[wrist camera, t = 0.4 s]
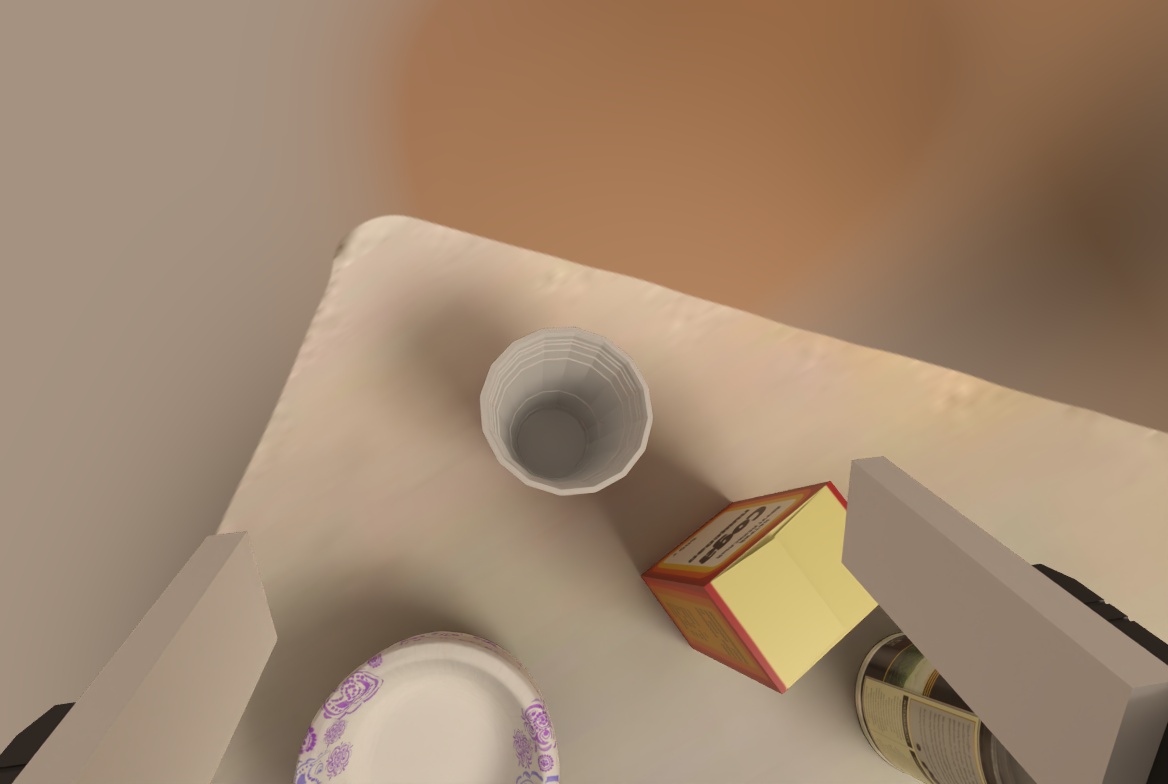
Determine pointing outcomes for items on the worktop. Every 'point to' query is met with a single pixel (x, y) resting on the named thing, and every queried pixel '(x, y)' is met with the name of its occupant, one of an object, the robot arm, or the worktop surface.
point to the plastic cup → (566, 411)
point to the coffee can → (926, 721)
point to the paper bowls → (433, 719)
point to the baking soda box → (765, 584)
